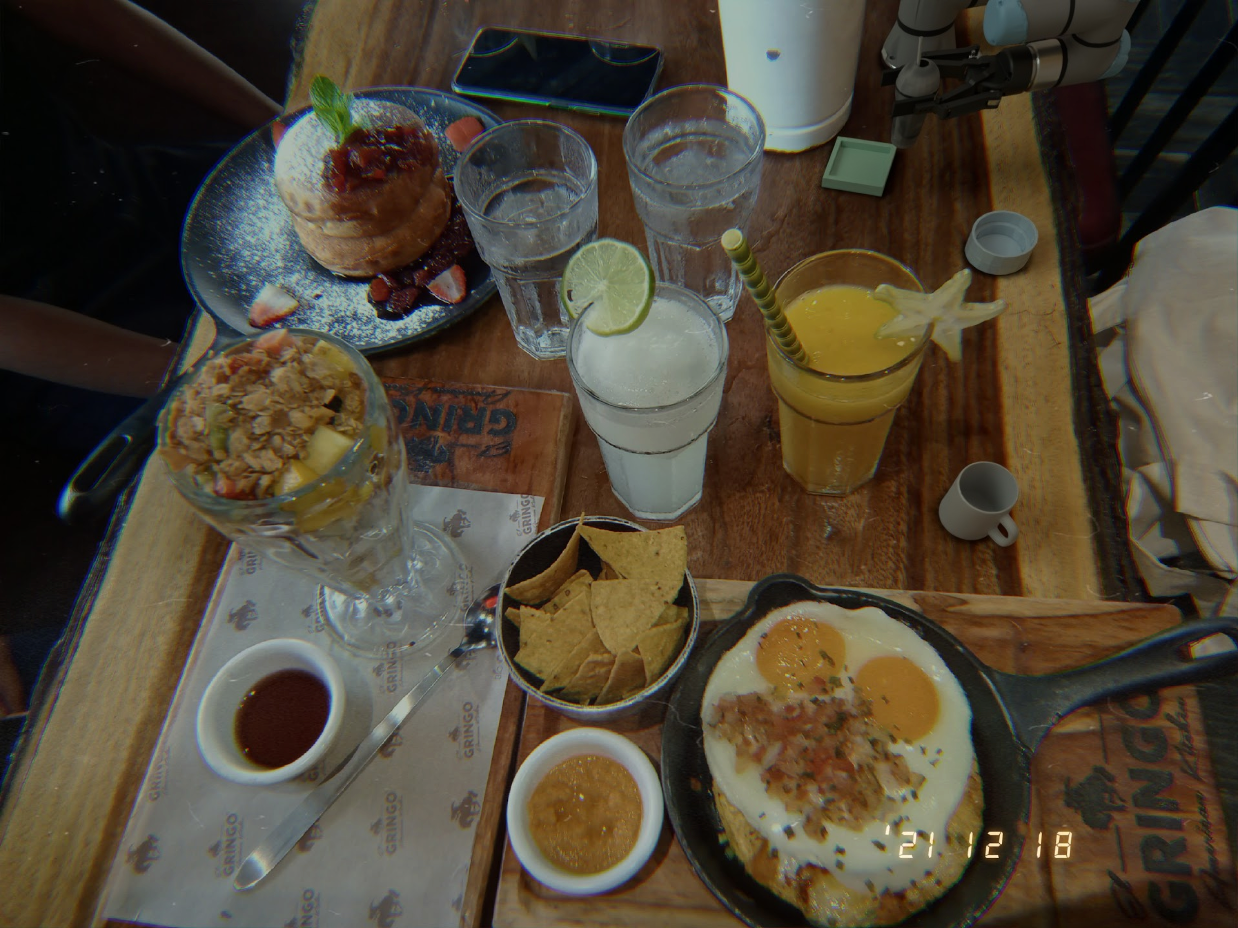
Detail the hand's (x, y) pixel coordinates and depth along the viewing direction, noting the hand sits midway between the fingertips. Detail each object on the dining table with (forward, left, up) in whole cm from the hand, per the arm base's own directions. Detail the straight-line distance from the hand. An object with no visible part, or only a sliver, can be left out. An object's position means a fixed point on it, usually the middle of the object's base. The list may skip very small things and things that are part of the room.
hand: (887, 94), depth 126 cm
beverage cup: (-2, +4, -11) cm, 12 cm away
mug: (+64, +32, -23) cm, 75 cm away
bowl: (+9, +26, -23) cm, 36 cm away
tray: (-6, -3, -23) cm, 24 cm away
